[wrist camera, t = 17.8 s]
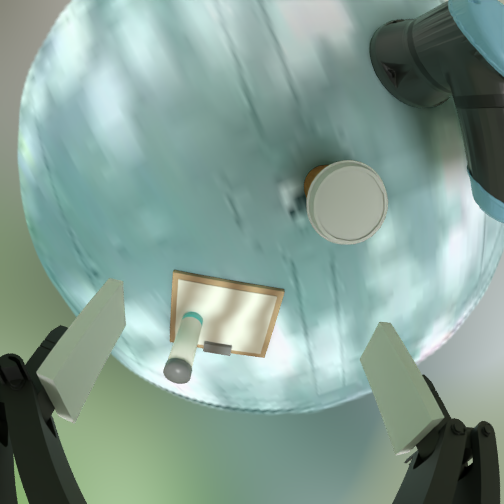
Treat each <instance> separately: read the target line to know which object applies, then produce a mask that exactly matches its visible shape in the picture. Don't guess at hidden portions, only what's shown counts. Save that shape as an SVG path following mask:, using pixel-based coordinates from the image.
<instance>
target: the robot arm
mask: <svg viewBox="0 0 504 504" xmlns="http://www.w3.org/2000/svg"><path fill="white" fill-rule="evenodd" d="M370 55H371V61H372V64H373V67H374V70H375V72H376V74H377V76H378V78H379V79H380V81H381V82H382V84H383V85H384V86H385V87H386V89H387V90H388V91H389V92H390V93H391V94H392V95H394V96H395V97H396V98H397V99H399V100H400V101H402V102H403V103H405V104H408V105H410V106H413V107H418V108H427V107H435V106H438V105H440V104H442V103H444V102H445V101H446V100H447V99H448V98H449V97H450V96H453V98H454V102H455V105H456V110H457V113H458V117H459V121H460V126H461V130H462V135H463V141H464V146H465V152H466V158H467V172H468V175H469V177H470V181H471V188H472V194H473V197H474V200H475V202H476V203H477V204H478V205H479V207H480V208H481V209H482V210H483V211H484V212H485V213H486V214H487V215H489V216H490V217H492V218H493V219H495V220H497V221H499V222H502V223H504V5H503V4H502V3H501V2H499V1H498V0H449V1H447V2H445V3H443V4H441V5H439V6H438V7H436V8H434V9H432V10H430V11H429V12H427V13H425V14H423V15H422V16H420V17H418V18H416V19H405V20H403V19H401V20H393V21H390V22H388V23H386V24H384V25H383V26H382V27H380V28H379V29H378V30H377V31H376V32H375V33H374V35H373V37H372V40H371V44H370ZM125 326H126V321H125V308H124V292H123V281H119V280H115V279H111V278H109V279H108V280H107V282H106V283H105V284H104V285H103V286H102V287H101V289H100V290H99V291H98V292H97V293H96V294H95V296H94V297H93V298H92V299H91V300H90V302H89V303H88V304H87V305H86V307H85V308H84V309H83V310H82V311H81V313H80V314H79V315H78V316H77V318H76V319H75V320H74V322H73V323H72V324H71V325H70V327H69V328H67V327H64V326H61V325H60V326H59V327H57V328H55V329H54V330H52V331H51V332H50V333H49V334H48V336H47V337H46V338H45V340H44V341H43V342H42V343H41V345H40V347H38V348H37V350H36V351H35V352H34V354H33V355H32V357H31V358H30V359H29V361H28V362H27V363H26V365H25V364H24V362H23V359H21V357H20V356H18V355H16V354H5V355H3V356H1V357H0V504H18V502H17V496H16V486H15V476H14V458H13V453H14V457H15V461H16V465H17V468H18V472H19V475H20V478H21V481H22V484H23V488H24V490H25V493H26V496H27V499H28V501H29V504H87V503H86V501H85V499H84V497H83V495H82V493H81V491H80V489H79V487H78V484H77V482H76V480H75V478H74V475H73V473H72V471H71V468H70V466H69V463H68V461H67V458H66V456H65V453H64V450H63V448H62V445H61V442H60V439H59V436H58V433H57V430H56V426H55V424H54V420H53V417H52V416H51V415H52V413H53V411H54V409H55V410H56V412H57V414H58V416H59V417H61V418H64V419H66V420H68V421H70V422H72V423H75V422H76V420H77V418H78V416H79V413H80V411H81V409H82V407H83V405H84V403H85V401H86V399H87V397H88V395H89V393H90V391H91V389H92V387H93V385H94V383H95V381H96V379H97V377H98V375H99V373H100V371H101V370H102V368H103V366H104V364H105V362H106V360H107V358H108V356H109V355H110V353H111V351H112V349H113V347H114V346H115V344H116V342H117V340H118V338H119V337H120V335H121V333H122V331H123V330H124V328H125ZM360 361H361V364H362V366H363V369H364V371H365V374H366V376H367V379H368V381H369V384H370V386H371V389H372V391H373V394H374V397H375V399H376V402H377V404H378V407H379V410H380V413H381V415H382V418H383V421H384V423H385V426H386V429H387V432H388V435H389V437H390V441H391V443H392V446H393V449H394V452H395V455H399V454H403V453H407V452H409V451H410V450H411V449H413V448H414V447H415V446H416V447H417V449H418V450H417V451H416V452H415V453H414V454H413V455H411V456H410V457H409V458H408V459H407V460H406V461H405V463H407V462H408V461H410V460H411V459H412V460H411V463H410V464H409V468H408V470H407V473H406V475H405V478H404V480H403V482H402V484H401V487H400V489H399V491H398V493H397V495H396V497H395V499H394V501H393V503H392V504H500V477H499V464H498V453H497V445H496V438H495V432H494V429H493V427H492V426H491V424H489V423H488V422H486V421H481V422H480V423H479V424H478V425H477V426H476V427H475V428H469V427H465V425H464V424H463V422H461V421H460V420H459V419H455V418H454V419H451V417H450V415H449V414H448V412H447V410H446V408H445V406H444V404H443V402H442V400H441V398H440V397H439V395H438V393H437V391H435V388H434V386H433V384H432V382H431V381H430V380H429V379H428V378H427V377H426V376H425V375H422V374H421V373H420V371H419V369H418V368H417V366H416V364H415V362H414V360H413V359H412V357H411V355H410V354H409V352H408V350H407V349H406V347H405V345H404V344H403V342H402V340H401V339H400V337H399V335H398V334H397V332H396V331H395V329H394V327H393V326H392V324H391V323H387V322H379V324H378V326H377V328H376V330H375V332H374V334H373V335H372V337H371V339H370V341H369V343H368V345H367V347H366V349H365V351H364V352H363V354H362V356H361V358H360ZM471 458H473V463H472V464H471V465H469V466H468V463H467V462H468V461H469V460H470V459H471Z"/></svg>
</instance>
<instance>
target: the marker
mask: <svg viewBox="0 0 504 504" xmlns="http://www.w3.org/2000/svg"><path fill="white" fill-rule="evenodd" d="M202 324H203V318H202V317H201V316H200V315H199V314H198V313H196V312H187V313H185V314H184V315H183V318H182V321H181V324H180V326H179V329H178V332H177V335H176V338H175V341H174V344H173V346H172V349H171V352H170V355H169V358H168V361H167V362H166V365H165V368H164V371H163V373H164V375H165V377H166V378H167V379H168V380H170V381H172V382H174V383H178V384H184V383H187V382H188V381H189V380H190V377H191V373H192V365H193V361H194V357H195V353H196V349H197V345H198V341H199V337H200V332H201V328H202Z"/></svg>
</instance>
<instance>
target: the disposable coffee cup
mask: <svg viewBox="0 0 504 504" xmlns="http://www.w3.org/2000/svg"><path fill="white" fill-rule="evenodd" d="M304 191H305V195H306V198H307V213H308V217H309V220H310V222H311V224H312V226H313V228H314V229H315V230H316V232H317V233H318V234H319V235H321V236H322V237H323V238H325V239H326V240H328V241H330V242H333V243H337V244H356V243H360V242H363V241H365V240H367V239H368V238H370V237H372V236H373V235H374V234H375V233H376V232H377V231H378V230H379V229H380V227H381V225H382V223H383V222H384V220H385V217H386V213H387V209H388V198H387V193H386V189H385V186H384V184H383V182H382V180H381V178H380V177H379V175H378V174H377V173H376V172H375V171H374V170H373V169H372V168H371V167H369V166H368V165H366V164H364V163H361V162H358V161H353V160H343V161H338V162H335V163H332V164H330V165H321V166H318V167H315V168H314V169H312V170H311V171H310V172H309V173H308V175H307V176H306V179H305V182H304Z"/></svg>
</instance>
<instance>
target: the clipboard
mask: <svg viewBox="0 0 504 504" xmlns="http://www.w3.org/2000/svg"><path fill="white" fill-rule="evenodd" d="M284 292H285V291H284V289H280V288H273V287H267V286H261V285H255V284H249V283H243V282H237V281H232V280H226V279H220V278H215V277H209V276H204V275H198V274H193V273H188V272H182V271H177V270H174V271H173V281H172V298H171V320H170V342H173V343H174V341H175V338H176V335H177V332H178V329H179V326H180V324H181V321H182V318H183V315H184V314H185V313H187V312H196V313H198V314H199V315H200V316H201V317H202V318H203V324H202V328H201V332H200V337H199V341H198V345H197V347H198V348H203V351H204V352H210V353H215V354H221V355H228V356H230V354H231V353H234V354H240V355H247V356H255V357H263V358H265V354H266V351H267V348H268V345H269V342H270V339H271V335H272V332H273V329H274V326H275V322H276V319H277V316H278V312H279V309H280V306H281V302H282V299H283V295H284Z"/></svg>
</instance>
